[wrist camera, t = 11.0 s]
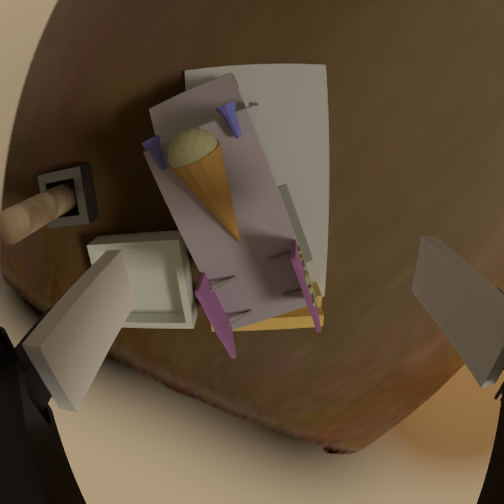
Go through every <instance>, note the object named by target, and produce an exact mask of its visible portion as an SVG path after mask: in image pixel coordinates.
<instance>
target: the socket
mask: <svg viewBox="0 0 504 504" xmlns="http://www.w3.org/2000/svg"><path fill="white" fill-rule="evenodd" d="M71 178H73V180H74V186H75V192H76V198H77V204H78V209H79V210H77V211H70V212H66V213H64V214H63V215H61V216H59V217H58V218H56V219H54V220H52V221H51V222H49V223H47V228H55V227H64V226H73V225H83V224H90V223H91V222H93V221H94V220H96V219H97V218H98V217H99V213H98V208H97V202H96V196H95V190H94V184H93V177H92V170H91V163H89V164H84V165H79V166H74V167H69V168H64V169H60V170H55V171H51V172H47V173H45V174H42V175H39V176H38V183H39V189H40V193H42V192H44V191H46V190H49V189H51V188H54V187H56V186H58V182H57V181H61V180H66V179H71Z"/></svg>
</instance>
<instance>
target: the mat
mask: <svg viewBox="0 0 504 504" xmlns="http://www.w3.org/2000/svg"><path fill="white" fill-rule="evenodd" d="M230 72H231V74H234V76H235V79H236V81H237V83H238V86H239V87H237V88H238V90H239V92H240V95H241V97H242V99H243V102H244V104H245V106H246V107H247V106H249V103H251V102H257V103H258V105H257V106H253V107H250V108H247V111H248V113H249V116H250V118H251V120H252V123H253V125H254V128H255V130H256V133H257V135H258V138H259V140H260V143H261V145H262V148H263V150H264V153H265V155H266V158H267V160H268V163H269V166H270V168H271V171H272V173H273V176H274V178H275V181H276V184H277V186H278V187H279V186H281V185H284V184H287V187H288V189H289V192H290V195H291V198H292V200H293V203H294V206H295V209H296V212H297V214H298V217H299V220H300V223H301V226H302V229H303V232H304V235H305V238H306V240H307V243H308V246H309V249H310V252H311V255H312V258H313V260H312V261H310V262H307V263H305V264H306V266H307V269H308V272H309V275H310V278H311V281H312V283H315V282H317V283H318V286H319V289H320V291H321V294H322V297H324V296H325V281H326V265H327V245H328V218H329V122H328V96H327V77H326V65H319V64H251V65H234V66H221V67H211V68H202V69H193V70H186V71H185V89H186V91H187V90H189V89H191V88H194V87H196V86H198V85H201V84H203V83H205V82H208V81H210V80H212V79H215V78H217V77H220V76H222V75H225V74H227V73H230Z"/></svg>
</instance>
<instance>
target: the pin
mask: <svg viewBox="0 0 504 504" xmlns="http://www.w3.org/2000/svg"><path fill="white" fill-rule="evenodd" d="M77 206H78V204H77V198H76V192H75V186H74V181H68V182H66V183H63V184H61V185H58V186H56V187H54V188H51V189H49V190H46V191H44V192H42V193H40V194H37V195H35V196H33V197H31V198H28V199H26V200H24V201H22V202H20V203H18V204H15V205H13V206H11V207H9V208H7V209H5V210H3V211H2V212H1V213H0V234H1V236H2V237H3V239H4V240H5V241H6V242H7V243H9V244H16V243H17V242H19V241H21V240H22V239H24V238H25V237H27V236H28V235H30V234H31V233H33V232H35V231H36V230H38V229H39V228H41V227H43V226H44V225H46V224H47V223H49V222H51V221H52V220H54V219H56V218H58V217H59V216H61V215H63V214H64V213H66V212H68V211H70V210H71V209H73V208H75V207H77Z"/></svg>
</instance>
